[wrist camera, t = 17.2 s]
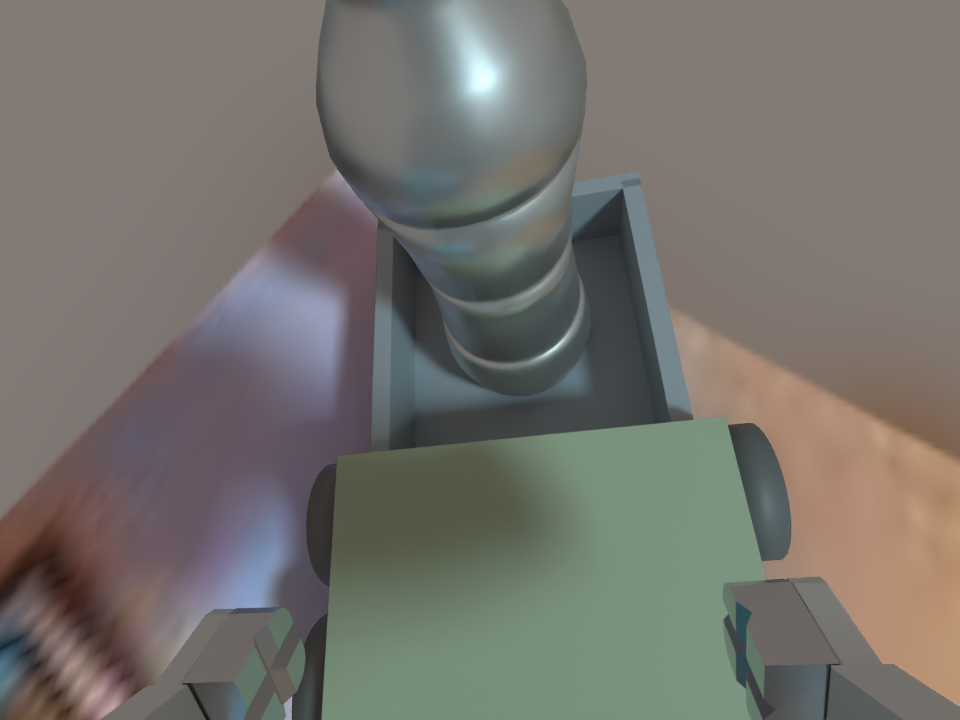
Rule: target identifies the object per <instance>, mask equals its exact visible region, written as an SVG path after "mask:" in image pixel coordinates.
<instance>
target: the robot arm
mask: <svg viewBox="0 0 960 720" xmlns="http://www.w3.org/2000/svg"><path fill="white" fill-rule="evenodd" d="M723 602H724V604H725V607H726V609H727V612H728V615H727V616H726V617H725V618H724V619H723V628H724V638H725V644H726V650H727V654H728V658H729V661H730V664H731V667H732V670H733V673H734V676H735V678H736V681H737V682H738V683H740V684H741V685H742V686H743V687H744V688H745V689H746V708H747V710H748V713H749V716H750V718H751V720H960V707H959V706H957V705H956V704H954V703H953V702H951V701H949V700H948V699H946V698H945V697H943V696H942V695H940V694H939V693H937V692H936V691H934V690H933V689H931V688H929V687H928V686H926V685H925V684H923V683H922V682H920V681H919V680H917V679H916V678H914V677H912V676H911V675H909V674H908V673H906V672H905V671H903V670H902V669H900V668H899V667H897V666H895V665H894V664H882V663H881V661H880V660H879V659H878V657H877V656H876V654H875V653H874V651H873V650H872V648H871V647H870V645H869V644H868V642H867V641H866V639H865V638H864V637H863V635H862V634H861V632H860V631H859V629H858V628H857V626H856V625H855V623H854V622H853V620H852V619H851V617H850V616H849V615H848V613H847V612H846V610H845V609H844V607H843V606H842V604H841V603H840V601H839V600H838V598H837V597H836V596H835V594H834V593H833V591H832V590H831V588H830V587H829V585H828V584H827V582H826V581H825V580H823V579H822V578H821V577H805V578H790V579H786V580H785V579H774V580H759V581H743V582H728V583H724V586H723ZM293 622H294V620H293V618H292V616H291V614H290V612H289V609H288V608H282V607H272V608H237V609H214V610H213V611H211V612H210V613H208V614H206V615H205V617H204V618H203V619H202V621H201V622H200V624H199V625H198V626H197V628H196V629H195V630H194V632H193V633H192V635H191V636H190V637H189V639H188V640H187V641H186V643H185V644H184V646H183V647H182V648H181V650H180V651H179V652H178V654H177V655H176V657H175V658H174V659H173V661H172V662H171V663H170V665H169V666H168V668H167V669H166V670H165V672H164V673H163V674H162V676H161V677H160V679H159V680H158V681H157V683H156V684H155V685H151V686H146V687H145V688H143V689H142V690H141V691H139V692H138V693H137V694H135V695H134V696H132V697H131V698H130V699H128V700H127V701H126V702H124V703H123V704H121V705H120V706H119V707H117V708H116V709H115V710H113V711H112V712H110V713H109V714H108V715H106V716H105V717H104V718H102V719H101V720H284V718H285V716H286V714H285V709H284V703H285V702H286V701H287V700H288V699H289V698H290V697H292V696H293V695H294V694H295V693H296V692H297V689H298V687H299V685H300V682H301V680H302V678H303V673H304V667H305V661H306V658H305V649H304V645H303V643H302V640H301V638H300V637H299V636H297V635H296V634H295V633H294V632H292V631H291V630H290V629H291V627H292V624H293Z"/></svg>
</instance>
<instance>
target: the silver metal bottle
mask: <svg viewBox="0 0 960 720" xmlns="http://www.w3.org/2000/svg"><path fill="white" fill-rule="evenodd" d="M586 90H587V69H586V60H585V57H584V54H583V51H582V48H581V45H580V42H579V39H578V37H577V34H576V31H575V28H574V25H573V22H572V19H571V16H570V13H569V11H568V8H567V7H566V5H565V4H564V3H563V1H562V0H326V4H325V10H324V16H323V22H322V27H321V33H320V39H319V47H318V63H317V79H316V105H317V109H318V114H319V118H320V122H321V126H322V130H323V134H324V138H325V142H326V145H327V148H328V152H329V155H330V158H331V159H332V161H333V162H334V164H335V166H336V167H337V169H338V170H339V172H340V174H341V175H342V176H343V177H344V179H345V180H346V181H347V183H348V184H349V185H350V187H351V188H352V190H353V191H354V192H355V194H356V195H357V196H358V197H359V198H360V199H361V200H362V201H363V202H364V204H365V205H366V206H367V207H368V208H369V209H370V211H371V212H372V213H373V214H374V215H375V216H376V217H377V218H378V220H379V221H380V222H381V223H382V224H383V225H384V226H385V227H386V228H387V230H388V231H389V232H390V233H391V234H392V235H393V236H394V237H395V238H396V240H397V241H398V242H399V243H400V244H401V245H402V246H403V247H404V248H405V250H406V251H407V252H408V253H409V255H410V256H411V258H412V259H413V261H414V262H415V264H416V265H417V267H418V268H419V270H420V271H421V273H422V274H423V276H424V277H425V278H426V280H427V281H428V283H429V285H430V286H431V287H432V290H433V292H434V295H435V297H436V300H437V302H438V305H439V308H440V310H441V313H442V315H443V323H444V330H445V334H446V337H447V340H448V343H449V346H450V349H451V352H452V355H453V357H454V358H455V360H456V362H457V363H458V365H459V366H460V368H461V369H462V370H463V371H464V372H465V373H466V374H467V375H468V376H469V377H471V378H472V379H473V380H475V381H476V382H478V383H479V384H481V385H482V386H484V387H485V388H487V389H488V390H491V391H493V392H496V393H498V394H501V395H507V396H513V397H514V396H529V395H534V394H538V393H541V392H543V391H546V390H548V389H550V388H552V387H554V386H555V385H557V384H558V383H560V382H561V381H562V380H564V379H565V378H566V377H567V376H568V375H569V373H570V372H571V371H572V370H573V369H574V367H575V366H576V364H577V363H578V361H579V360H580V357H581V355H582V352H583V350H584V347H585V345H586V342H587V340H588V337H589V332H590V326H591V312H590V306H589V302H588V299H587V295H586V292H585V288H584V284H583V282H582V280H581V278H580V276H579V274H578V272H577V267H576V262H575V257H574V252H573V247H572V242H571V239H572V231H571V226H572V193H573V187H574V180H575V174H576V167H577V161H578V155H579V148H580V141H581V135H582V129H583V121H584V117H585V106H586Z"/></svg>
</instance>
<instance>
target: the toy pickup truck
mask: <svg viewBox="0 0 960 720" xmlns="http://www.w3.org/2000/svg"><path fill="white" fill-rule="evenodd" d="M571 231H572V239H571V242H572V247H573V252H574V257H575V262H576V267H577V272H578V274H579V276H580V278H581V280H582V282H583V284H584V288H585V292H586V295H587V299H588V302H589V306H590V312H591V326H590V332H589V337H588V340H587V342H586V345H585V347H584V350H583V352H582V355H581V357H580V360H579V361H578V363H577V364H576V366H575V367H574V369H573V370H572V371H571V372H570V373H569V375H568V376H567V377H566V378H565V379H564V380H562V381H561V382H560V383H558V384H557V385H555V386H554V387H552V388H550V389H548V390H546V391H543V392H541V393H538V394H534V395H529V396H514V397H513V396H507V395H501V394H498V393H496V392H493V391H491V390H488V389H487V388H485V387H484V386H482V385H481V384H479V383H478V382H476V381H475V380H473V379H472V378H471V377H469V376H468V375H467V374H466V373H465V372H464V371H463V370H462V369H461V368H460V366H459V365H458V363H457V362H456V360H455V358H454V357H453V355H452V352H451V349H450V346H449V343H448V340H447V337H446V334H445V330H444V323H443V315H442V313H441V310H440V308H439V305H438V302H437V300H436V297H435V295H434V292H433V290H432V287H431V286H430V285H429V283H428V281H427V280H426V278H425V277H424V276H423V274H422V273H421V271H420V270H419V268H418V267H417V265H416V264H415V262H414V261H413V259H412V258H411V256H410V255H409V253H408V252H407V251H406V250H405V248H404V247H403V246H402V245H401V244H400V243H399V242H398V241H397V240H396V238H395V237H394V236H393V235H392V234H391V233H390V232H389V231H388V230H387V228H386V227H385V226H384V225H383V224H382V223H381V222H380V221H379V220H378V238H377V268H376V297H375V326H374V356H373V385H372V414H371V444H370V452H369V453H359V454H350V455H340V456H337V464H330V465H328V466H326V467H325V468H324V469H323V470H322V471H321V472H320V474H319V475H318V477H317V479H316V481H315V483H314V485H313V488H312V491H311V495H310V499H309V504H308V511H307V525H306V527H307V544H308V551H309V555H310V560H311V563H312V566H313V568H314V571H315V573H316V574H317V576H318V578H319V579H320V580H321V581H322V582H323V583H324V584H326V585H328V586H329V602H328V614H326V615H324V616H323V617H322V618H320V619H319V620H318V622H317V623H316V624H315V625H314V627H313V628H312V630H311V632H310V634H309V636H308V638H307V640H306V642H305V645H304V649H305V658H306V661H305V667H304V673H303V678H302V680H301V682H300V685H299V687H298V689H297V692H296V693H295V694H294V695H293V698H292V720H751V718H750V716H749V713H748V710H747V708H746V689H745V688H744V687H743V686H742V685H741V684H740V683H738V682H737V681H736V678H735V676H734V673H733V670H732V667H731V664H730V661H729V658H728V654H727V650H726V644H725V638H724V628H723V619H724V618H725V617H726V616H727V615H728V612H727V609H726V607H725V604H724V602H723V586H724V583H728V582H743V581H759V580H766V576H765V572H764V568H763V564H762V561H770V560H781V559H783V558H784V557H785V556H786V555H787V553H788V550H789V547H790V541H791V515H790V506H789V500H788V495H787V490H786V486H785V482H784V478H783V474H782V471H781V468H780V465H779V462H778V460H777V457H776V455H775V452H774V450H773V448H772V446H771V444H770V442H769V441H768V439H767V437H766V436H765V434H764V433H763V432H762V430H761V429H760V428H759V427H757V426H756V425H755V424H753V423H745V424H734V425H728V424H727V420H726V417H717V418H707V419H697V420H693V415H692V411H691V406H690V402H689V397H688V393H687V389H686V384H685V380H684V375H683V371H682V366H681V362H680V357H679V353H678V348H677V344H676V339H675V335H674V330H673V326H672V322H671V317H670V313H669V308H668V304H667V299H666V295H665V290H664V286H663V282H662V277H661V272H660V268H659V264H658V259H657V255H656V250H655V246H654V241H653V237H652V232H651V228H650V223H649V219H648V215H647V210H646V206H645V201H644V196H643V192H642V188H641V183H640V179H639V174H638V172H631V173H626V174H620V175H614V176H609V177H603V178H598V179H592V180H586V181H580V182H575V183H574V187H573V193H572V226H571Z"/></svg>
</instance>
